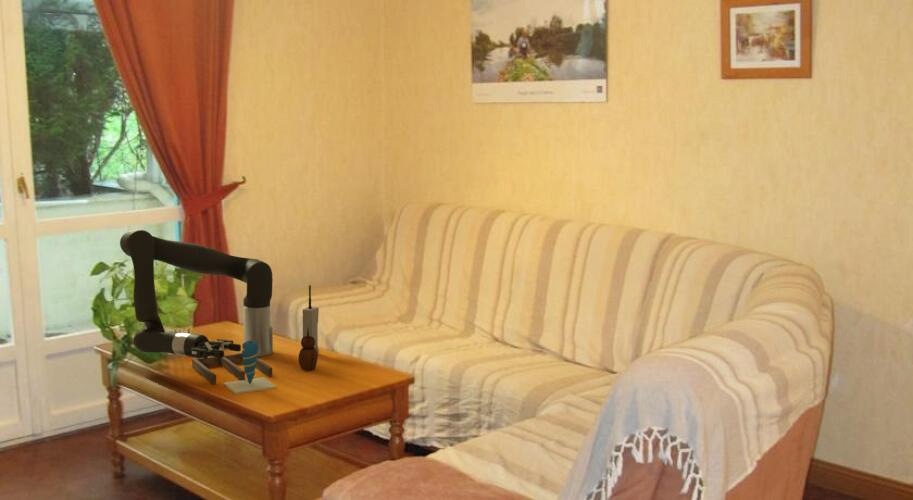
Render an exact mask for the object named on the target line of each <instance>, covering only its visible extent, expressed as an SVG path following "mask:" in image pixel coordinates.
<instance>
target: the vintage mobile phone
mask: <svg viewBox="0 0 913 500" xmlns="http://www.w3.org/2000/svg"><path fill="white" fill-rule="evenodd" d="M311 288H312V287H311V284H310V285H308V307H305V308H303V309H302V338H303V337H304V336H307V330H308V328H309V336H312V337H314V339H315V346H314V348H316V350H317V354H320V350H319V345H318V339H319V338H318V325H319V312H320V311H319V307H318V306H312V293H311V292H312V289H311Z"/></svg>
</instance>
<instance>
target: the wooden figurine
mask: <svg viewBox="0 0 913 500" xmlns="http://www.w3.org/2000/svg"><path fill="white" fill-rule="evenodd" d="M300 339H301V341H300V345H301V347H302V348H301V349H300V350H299V353H298V365H299V367H300V369H301V370H302V371H305V372H306V371H307V372H310V371H313V370H315V368H316V367H317V363H318V359H319V357H318V354H319V353H318V354H317V350H316V348H314V346H315V339H314V337H312V336H309V328H308V330H307V336H304V337H303V336H302V338H300Z"/></svg>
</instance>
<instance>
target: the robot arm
mask: <svg viewBox="0 0 913 500" xmlns="http://www.w3.org/2000/svg"><path fill="white" fill-rule="evenodd" d="M119 247H120V249H121V251H122V252H123V253H124V254H125V255H126V256H128V257H130V258H131V262H132V266H133V272H134V273H133V274H134V282H133V304H134V305H133V306H134V313H135V318H136V321H137V322H139V323H143V324H145V327H146V328H145V329H142V330H139V331H138V332H136V333H135V335H134V337H133V339H132V340H133V341H132V342H133V344H134V347H135V348H136V349H137V350H138V351H140V352H142V353H167V354H174V355H178V356H182V357H188V358H192V359H195V358H208V357H219V358H223V357H224V355H225V351H233V352H237V353H240V352H242V351H241V350H242V348H241V347H242V346H241V344H239V343H234V340H229V339H228V340H227V339H222V338H218V339H216V340H209V338H208V337H207V336H206V335H205V334H198V333H191V332H178V331H172V330H171V331H166V330H165V328H164V325H163V323H162V321H161V317H160V316H159V312H158V310H159V309H158V303H157V295H156V288H155V287H156V286H155V273H154V272H155V265H154V264H155V261H158V262H162V263H165V264H168V265H170V266H173V267H175V268H178V269H182V270H186V271H188V272H193V273H198V274H201V275H202V274H203V275H210V276H224V277H229V278H232V279H235V280H238V281H240V282H243V283H245V284H246V294H245V296H244V297H243V303H242V304H243V305H242V308H243V309H242V311H243V343H244V342H247V341H249V339H251V338H252V341H255V342H256V343H257V344H258V352H257V355H258V357H265V356H268V355H271V354H272V355H273V354H274V353H273V352H274V349H273V347H274V346H273V345H274V342H273V341H274V340H273V339H274V337H273V334H274V333H273V327H272V326H271V300H272V297H273V271H272V268H271V266H270V265H269V264H268V263H267V262H265V261H262V260H260V259H258V258H249V257H242V256H236V255H231V254H228V253H225V252H223V251H220V250H218V249H215V248H212V247H208V246H204V245H201V244H197V243H192V242H184V241H179V240H178V241H177V240H168V239H164V238H161V237H160V238H159V237H157V236H154V235H152V234H151V232H149V231H147V230H145V229H131V230H128V231H126V232H124V234H123V235H122V236H121V238H120V239H119ZM249 337H250V338H249Z"/></svg>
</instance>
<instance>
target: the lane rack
mask: <svg viewBox="0 0 913 500" xmlns="http://www.w3.org/2000/svg"><path fill="white" fill-rule="evenodd" d="M239 363H241V364H242V363H243V356H242V352H237V353H229V354H224V357H223V358H219V357H208V358H192V359H191V367H192V369H193V370H194V371H196V372H197V373H198V374H199V375H200V376H202V377H203V378H204V379H205V380H206V381H208V383H210V384H211V385H212V386H217V383H218V382H217V374H216V373H214V372H213V371H212V370H210V369H209V368H208V367H216V366H221V367H222V368H224V369H225V370H226V371H227V372H229V373H230V374H231V375H233V377H235V378H236V379H237V380H238V381H240V380H246V374H245V371H244V369H242V368H240V367H239V366H238V365H237V364H239ZM255 370H258V371H259V372H261V373H262V374H263V375H264V376H266V377H268V378H273V367H271V366H270V365H269V364H267V363H266V362H265V361H262V359H260V358H258V357H257V360H256V368H255Z"/></svg>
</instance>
